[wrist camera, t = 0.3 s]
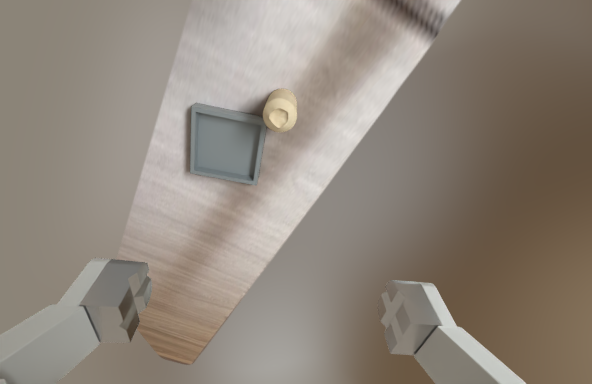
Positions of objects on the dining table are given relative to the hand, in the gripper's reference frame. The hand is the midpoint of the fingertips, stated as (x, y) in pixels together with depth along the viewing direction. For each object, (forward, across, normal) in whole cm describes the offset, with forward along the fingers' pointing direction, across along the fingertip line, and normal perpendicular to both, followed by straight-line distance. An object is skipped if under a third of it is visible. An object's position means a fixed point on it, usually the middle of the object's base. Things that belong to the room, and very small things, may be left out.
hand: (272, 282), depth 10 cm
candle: (+46, -1, +8) cm, 47 cm away
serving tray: (+46, +8, +17) cm, 50 cm away
